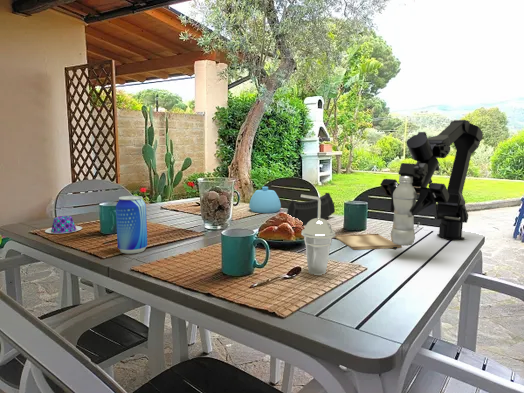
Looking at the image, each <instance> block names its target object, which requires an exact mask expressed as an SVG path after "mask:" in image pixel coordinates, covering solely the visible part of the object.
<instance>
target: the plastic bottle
mask: <svg viewBox="0 0 524 393" xmlns="http://www.w3.org/2000/svg"><path fill="white" fill-rule="evenodd" d="M398 183H399V185H398V186H397V187H396V189H395V190H394V192H393V203H394V212H393V222H392V228H391V233H390V241H392V242H393V243H394V244H397V245H401V246H402V247H403V246H404V247H405V246H412V245H413V244H414V242H415V239H416V234H415V233H416V232H415V224H414V222H415V221H414V220H415V219H414V217H415V215H414V216H413V215H412V214H411V212H412V210H413V207H414V206H415V204H416V202H417V200H418V194H417V193H416V191H415V189H414V187H413V186H412V183H413V176H405V175H402V176H401V175H399V177H398Z"/></svg>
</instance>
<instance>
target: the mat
mask: <svg viewBox="0 0 524 393" xmlns="http://www.w3.org/2000/svg"><path fill="white" fill-rule="evenodd" d="M335 235H336V236H335V237H334V238H335V239H336V240H338V241H340V242H341V243H343V245H346V246H347V247H349V248H350V249H352V250H353V251H362V250H380V249H381V250H382V249H383V250H385V249H394V248H393V247H397V248H396V249H402V248H403V246H401V245H397V244H394V243H393V242H392V240H391V239H388V238H387V237H384V236H382V235H380V233H360V234H335Z"/></svg>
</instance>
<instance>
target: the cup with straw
mask: <svg viewBox="0 0 524 393" xmlns="http://www.w3.org/2000/svg"><path fill="white" fill-rule="evenodd" d="M299 198H304V199H309V200H314V199H316V200H318V218H314V219H312V220H310V221H309V222H308V223H307V224H306V225H304V229H302V230H301V236H302V237H304V238H303V239H304V244H305V251H306V252H305V253H306V263H307V268H308V269H307V273H308V274H310V275H313V274H314V276H323V275H322V274H324V275H326V274H327V268H328V263H329V256H330V249H331V246H332V243H333V242H332V241H333V238H335V236H336V235H337V234H336V232H335V231H334V230H333V227H332V225H331V223H330V222H329V221H328V220H327V219H326V218H325V219H322V218H320V214H321V199H320V197H319V196H315V195H314V196H313V195H307V194H299ZM325 273H326V274H325Z"/></svg>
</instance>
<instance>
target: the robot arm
mask: <svg viewBox="0 0 524 393" xmlns="http://www.w3.org/2000/svg"><path fill="white" fill-rule="evenodd" d="M483 136H484V133H483V130H482V129H481V128H480V127H479V125H475V124H473V123H471V121H469V120H467V119H454V120H451V121H450V123H449V125H447V126H446V127H445V128H444V129H443V130H442V131H441V132H440V133H438V134H437V135H435V136H429V137H428V135H427V133H426V131H418V132H417V134H415V135H412V136H411V137H409V138H408V139H407V141H406V146H407V149H408V151H409V153H410V156H411V159H412V160H414V161H416V163H408V162H407V163H404V162H402V163H400V167H399V170H398V175H399V176H402V175H405V176H413V183H412V186H413V187H414V189H415V191H416V193H417V195H419V197H417V199H416V204H415V206H414V207H413V210H412V212H411V214H412V215H413V216H414V217H415V216H416V215H417V214H418V213H420V212H421V211H424V209H426V208H428V207H430V206H432V205H436V206H435V212H436V220H440V223H439V228H438V229H439V231H438V233H436V236H437V237H440V238H442V239H445V240H448V241H452V240H453V241H454V240H465V239H466V238H465V237H463V235H462V234H463V224H465V223H468V220H469V212H468V210H467V207H466V201H465V198H464V196H463V192H464V187H465V183H466V180H467V179H466V178H467V174H468V170H469V166H470V162H471V157H472V155H473V153H474V152H475V151H476V150H477V149H479V146H480V143H481V141H482V140H483V138H484V137H483ZM452 144H453V146H454V147H455V150H456V151H455V155H454V159H453V160H454V161H453V164H452V169H451V172H450V176H449V181H448V185H447V186H446V184H445V183H439V182H433V180H432V178H433V175H434V174H435V172H439V170H440V166H439V163H440V162H439V160H438V159H445V158H446V157H447V156H448V155H449V154H450V152H451V146H452ZM399 183H400V182H399V181H397V179H396V178H395V179H393V178H383V179H382V181H381V182H380V184H379V185H380V187H381V188H382V190H383V192H384V194H385V196H387V197H388V198H389V197H390V200H391V201H390V212H391V213H394V203H393V192H394V190H395V189H396V187H397V186H398V185H399Z"/></svg>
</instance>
